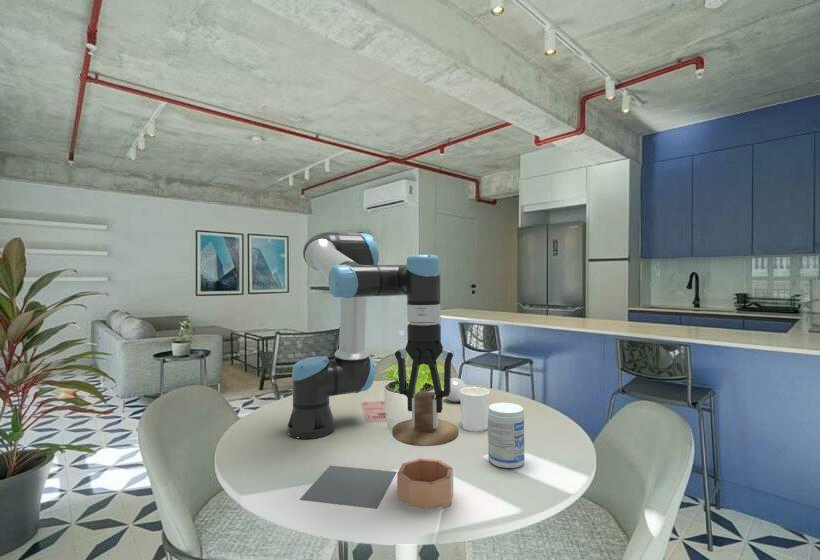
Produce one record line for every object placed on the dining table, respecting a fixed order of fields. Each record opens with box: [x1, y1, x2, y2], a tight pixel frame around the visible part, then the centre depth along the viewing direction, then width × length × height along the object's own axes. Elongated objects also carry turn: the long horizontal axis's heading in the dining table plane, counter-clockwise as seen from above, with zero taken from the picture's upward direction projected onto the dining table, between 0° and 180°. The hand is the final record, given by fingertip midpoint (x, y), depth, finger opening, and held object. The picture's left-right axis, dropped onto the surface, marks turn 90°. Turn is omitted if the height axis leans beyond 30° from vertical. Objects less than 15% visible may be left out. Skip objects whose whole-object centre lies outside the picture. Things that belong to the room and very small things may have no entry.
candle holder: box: [459, 386, 491, 433], centre depth 139 cm, size 10×10×12 cm
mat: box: [299, 465, 398, 510], centre depth 100 cm, size 18×17×1 cm
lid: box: [391, 391, 460, 447], centre depth 96 cm, size 15×15×9 cm
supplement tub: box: [487, 402, 525, 469], centre depth 114 cm, size 10×10×15 cm
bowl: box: [396, 458, 454, 510], centre depth 96 cm, size 12×12×6 cm
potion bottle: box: [445, 377, 483, 403], centre depth 167 cm, size 9×10×15 cm
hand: (425, 425), depth 96 cm, fingers closed on lid, 4 cm apart
